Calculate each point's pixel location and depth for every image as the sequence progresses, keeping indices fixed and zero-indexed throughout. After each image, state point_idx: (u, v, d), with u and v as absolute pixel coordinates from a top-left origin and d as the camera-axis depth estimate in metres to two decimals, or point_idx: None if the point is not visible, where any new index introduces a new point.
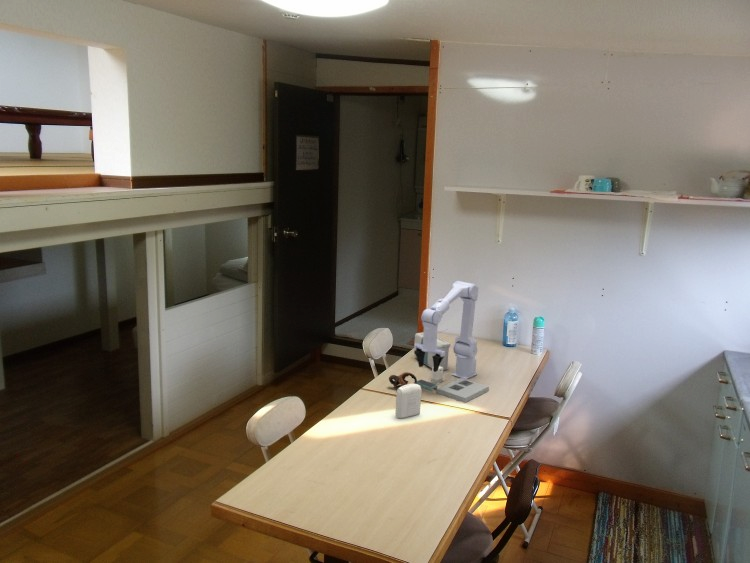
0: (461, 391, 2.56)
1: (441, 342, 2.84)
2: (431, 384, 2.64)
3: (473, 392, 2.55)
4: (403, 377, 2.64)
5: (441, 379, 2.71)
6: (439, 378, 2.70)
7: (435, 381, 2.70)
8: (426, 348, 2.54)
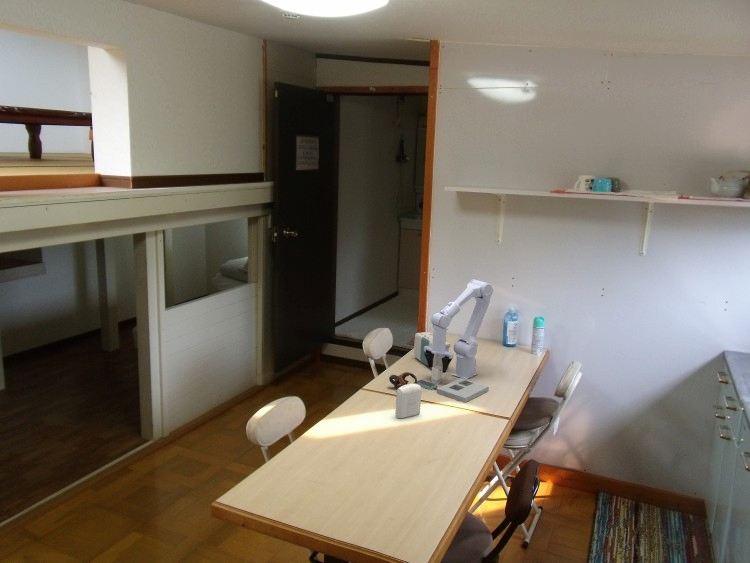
0: (461, 391, 2.56)
1: None
2: (431, 384, 2.64)
3: (473, 392, 2.55)
4: (403, 377, 2.64)
5: (441, 379, 2.71)
6: (439, 378, 2.70)
7: (435, 381, 2.70)
8: (435, 350, 2.66)
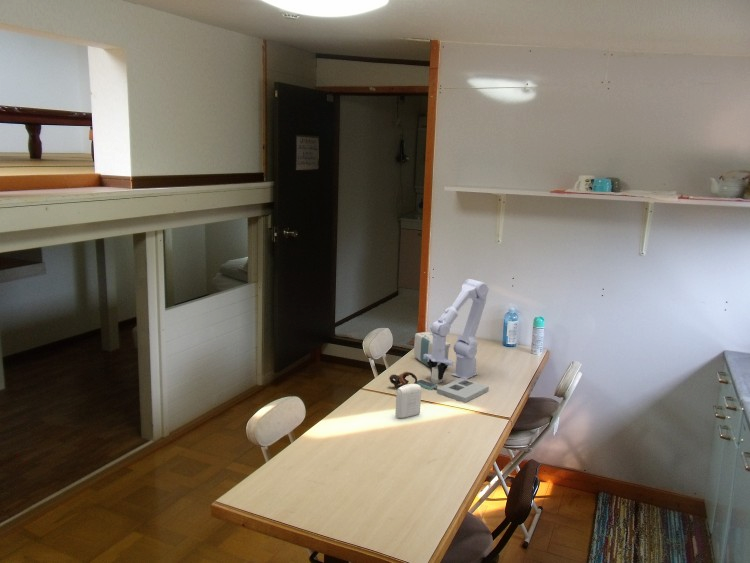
0: (461, 391, 2.56)
1: None
2: (431, 384, 2.64)
3: (473, 392, 2.55)
4: (403, 377, 2.65)
5: (441, 379, 2.71)
6: None
7: (435, 381, 2.70)
8: (435, 358, 2.67)
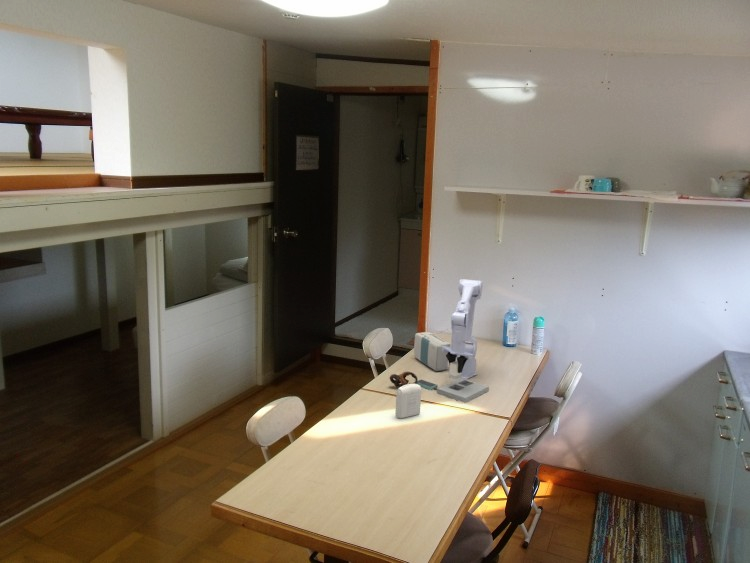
0: (461, 391, 2.56)
1: (441, 342, 2.84)
2: (431, 384, 2.64)
3: (473, 392, 2.55)
4: (404, 376, 2.65)
5: (459, 375, 2.59)
6: (457, 374, 2.58)
7: (453, 377, 2.57)
8: (454, 351, 2.55)
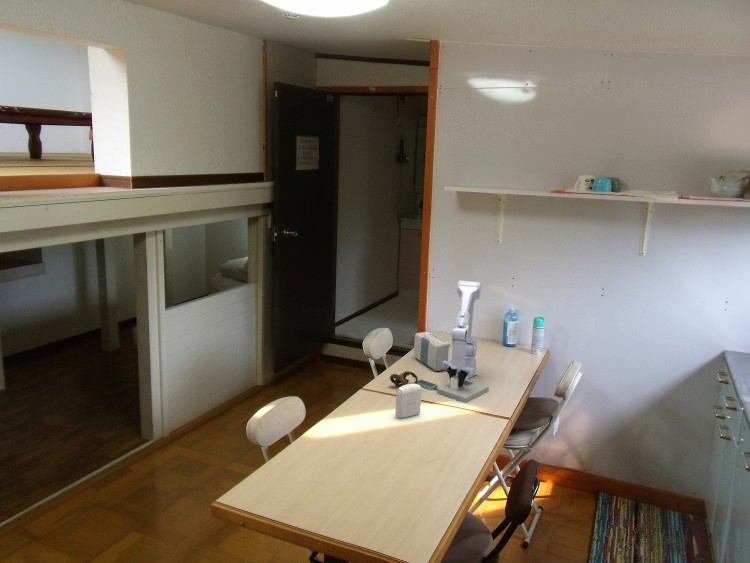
0: (461, 391, 2.56)
1: (441, 342, 2.84)
2: (431, 384, 2.64)
3: (473, 392, 2.55)
4: (404, 376, 2.65)
5: (460, 389, 2.59)
6: (458, 388, 2.58)
7: None
8: (455, 365, 2.55)
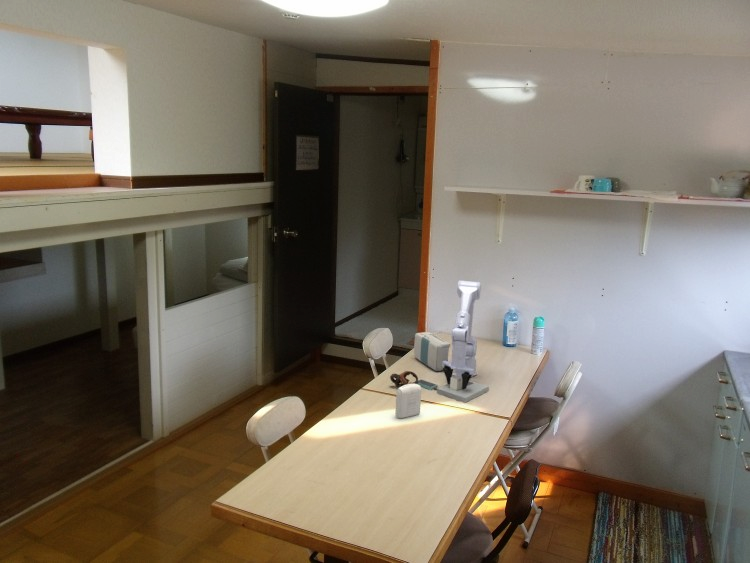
0: (461, 391, 2.56)
1: (441, 342, 2.84)
2: (431, 384, 2.64)
3: (473, 392, 2.55)
4: (404, 376, 2.66)
5: (460, 389, 2.59)
6: (458, 388, 2.58)
7: None
8: (455, 366, 2.55)
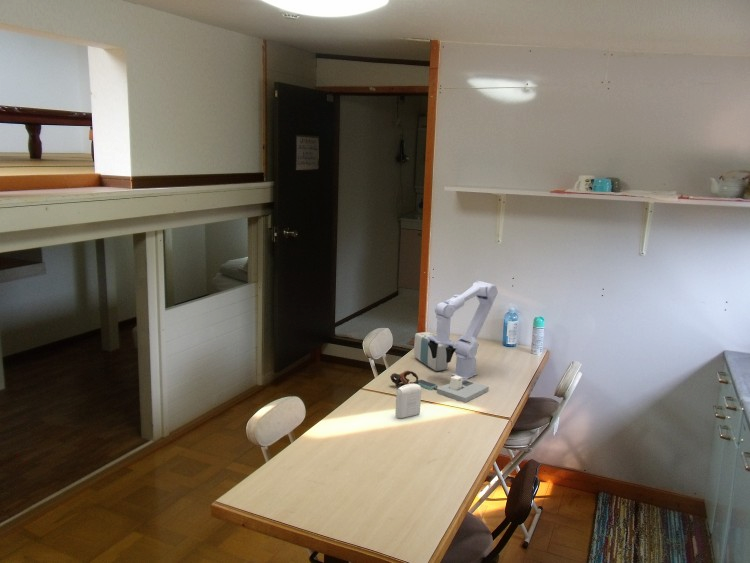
0: (461, 391, 2.56)
1: None
2: (431, 384, 2.64)
3: (473, 392, 2.55)
4: (404, 375, 2.66)
5: (460, 389, 2.59)
6: (458, 388, 2.58)
7: None
8: (439, 340, 2.65)
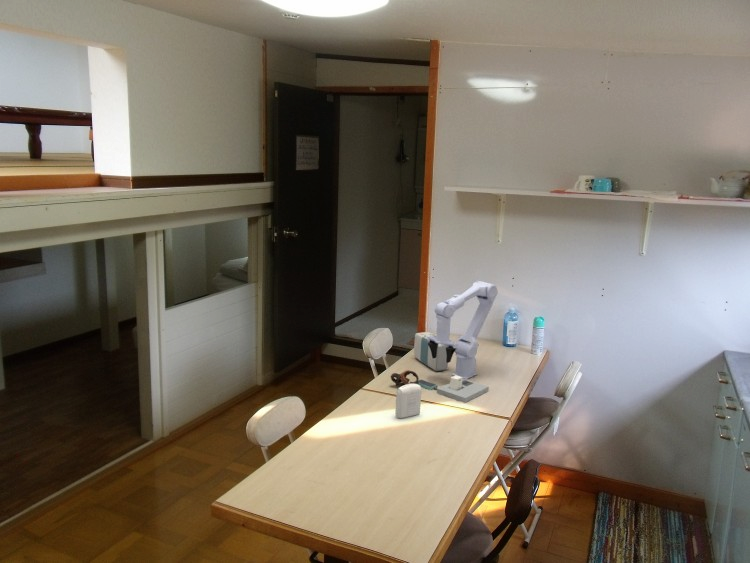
0: (461, 391, 2.56)
1: None
2: (431, 384, 2.64)
3: (473, 392, 2.55)
4: (404, 375, 2.67)
5: (460, 389, 2.59)
6: (458, 388, 2.58)
7: None
8: (439, 340, 2.65)
